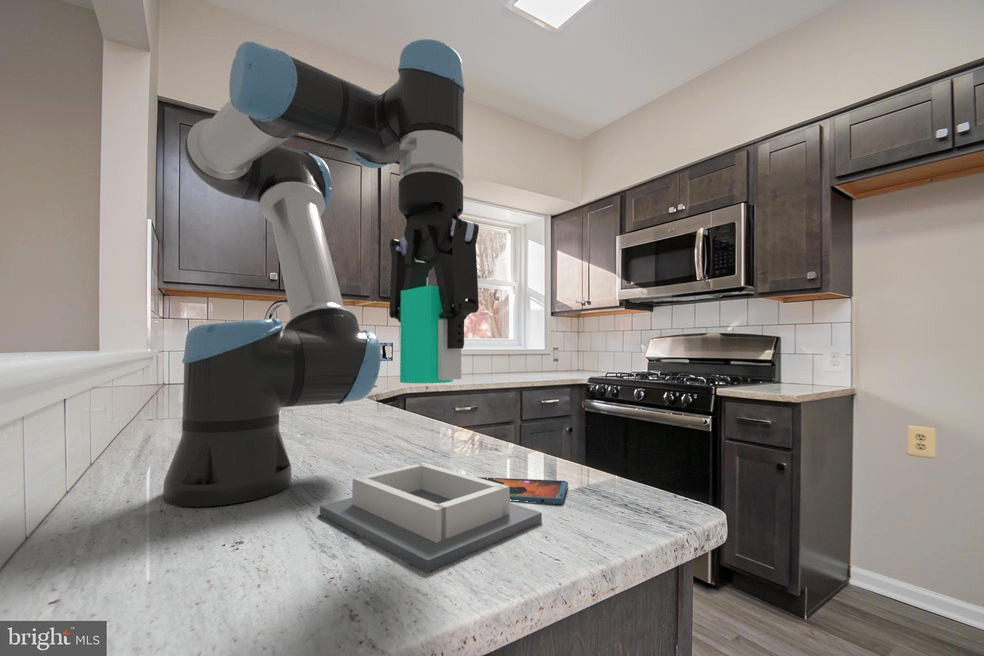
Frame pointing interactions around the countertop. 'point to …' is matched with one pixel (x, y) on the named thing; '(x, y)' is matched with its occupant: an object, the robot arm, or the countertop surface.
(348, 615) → the countertop surface
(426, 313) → the candle
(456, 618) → the countertop surface
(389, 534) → the dock
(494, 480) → the smartphone
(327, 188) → the robot arm
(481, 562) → the countertop surface
